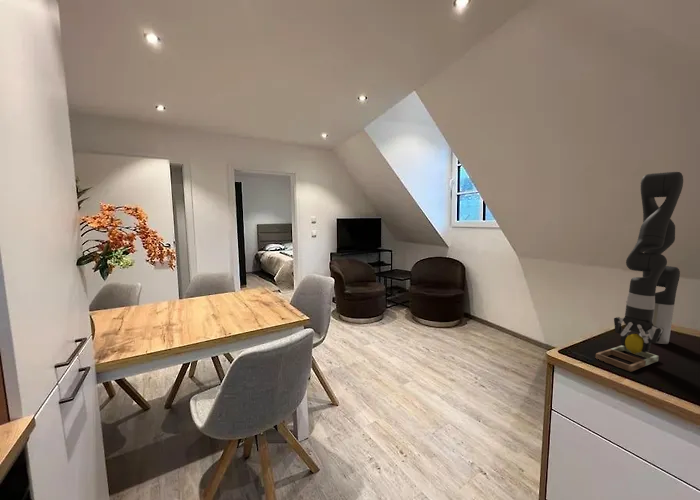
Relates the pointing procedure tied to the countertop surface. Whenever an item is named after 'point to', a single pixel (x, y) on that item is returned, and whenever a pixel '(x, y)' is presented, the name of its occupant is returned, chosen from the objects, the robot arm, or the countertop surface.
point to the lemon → (634, 343)
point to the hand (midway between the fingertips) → (634, 348)
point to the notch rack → (626, 358)
